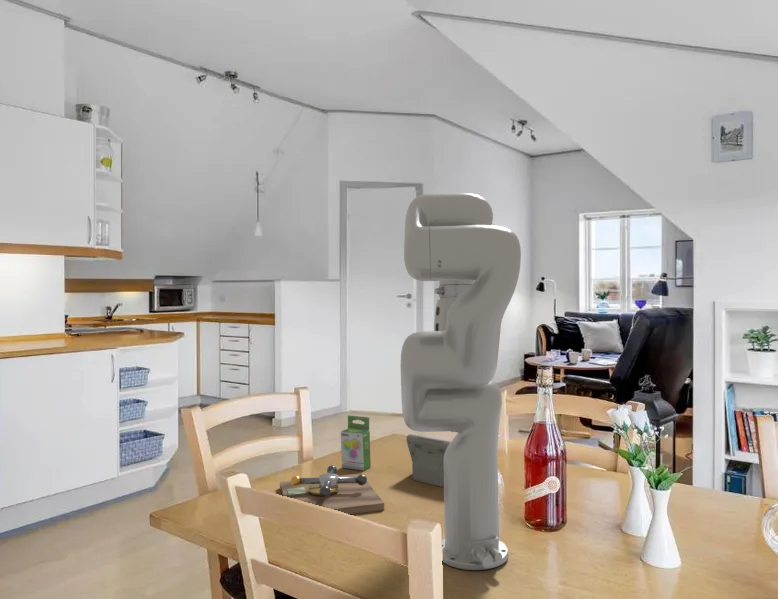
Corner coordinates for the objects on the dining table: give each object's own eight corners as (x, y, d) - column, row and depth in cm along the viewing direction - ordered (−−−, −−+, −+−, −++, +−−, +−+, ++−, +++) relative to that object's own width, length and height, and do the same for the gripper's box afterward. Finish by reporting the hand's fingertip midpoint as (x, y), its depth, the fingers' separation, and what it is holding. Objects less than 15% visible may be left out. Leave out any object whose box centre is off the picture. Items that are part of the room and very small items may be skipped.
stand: (384, 509, 130) (384, 502, 130) (290, 521, 124) (290, 513, 124) (360, 479, 151) (360, 472, 151) (280, 488, 145) (279, 481, 145)
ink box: (340, 468, 161) (339, 417, 160) (349, 464, 164) (348, 415, 164) (363, 471, 157) (362, 420, 157) (371, 467, 161) (370, 417, 160)
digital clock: (471, 484, 146) (470, 440, 145) (443, 492, 140) (442, 446, 140) (427, 468, 159) (427, 428, 158) (400, 475, 153) (399, 434, 153)
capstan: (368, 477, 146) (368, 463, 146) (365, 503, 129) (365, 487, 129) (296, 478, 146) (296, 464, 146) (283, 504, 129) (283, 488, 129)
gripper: (434, 293, 129) (436, 379, 129) (493, 292, 135) (495, 374, 135) (419, 293, 136) (420, 375, 136) (476, 292, 142) (477, 370, 142)
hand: (458, 374), depth 136 cm, fingers closed
